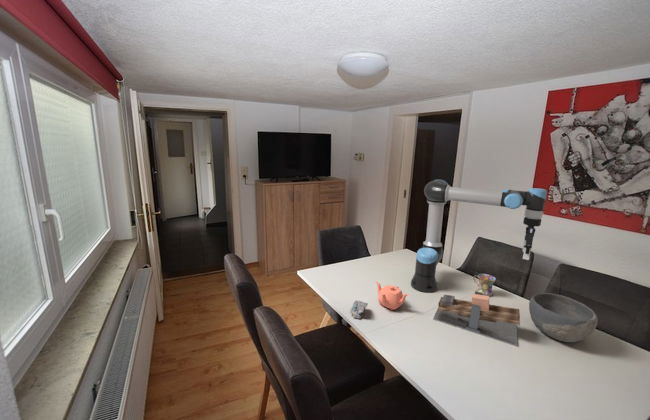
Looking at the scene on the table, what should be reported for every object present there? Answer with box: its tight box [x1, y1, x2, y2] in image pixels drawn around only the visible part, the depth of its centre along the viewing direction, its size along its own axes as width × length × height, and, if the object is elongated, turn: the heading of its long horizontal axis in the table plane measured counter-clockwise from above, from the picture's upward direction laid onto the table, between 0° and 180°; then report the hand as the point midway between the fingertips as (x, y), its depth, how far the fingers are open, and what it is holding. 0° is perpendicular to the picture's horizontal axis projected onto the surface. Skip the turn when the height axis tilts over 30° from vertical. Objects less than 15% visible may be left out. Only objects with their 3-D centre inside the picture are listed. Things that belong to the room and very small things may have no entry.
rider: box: [471, 293, 490, 311], centre depth 137 cm, size 7×4×7 cm, turn 58°
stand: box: [432, 290, 518, 347], centre depth 138 cm, size 35×18×13 cm, turn 58°
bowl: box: [528, 292, 599, 343], centre depth 131 cm, size 24×24×15 cm
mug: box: [472, 273, 497, 297], centre depth 169 cm, size 12×9×11 cm
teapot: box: [375, 281, 410, 311], centre depth 152 cm, size 14×14×11 cm
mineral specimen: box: [349, 300, 369, 320], centre depth 143 cm, size 10×8×10 cm
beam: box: [437, 294, 521, 326], centre depth 138 cm, size 34×12×7 cm, turn 58°
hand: (525, 255), depth 155 cm, fingers open, 13 cm apart
